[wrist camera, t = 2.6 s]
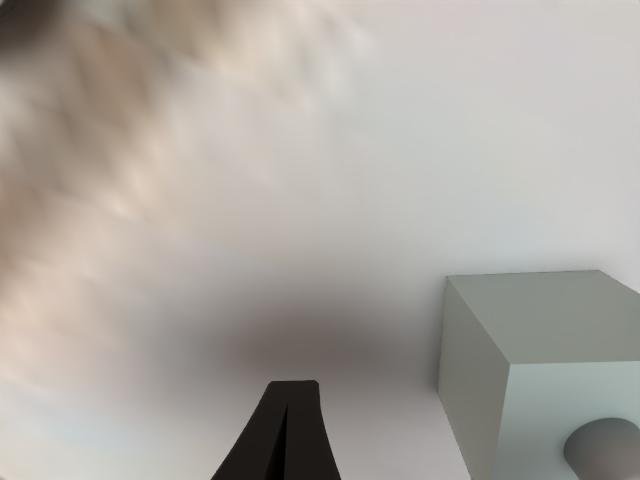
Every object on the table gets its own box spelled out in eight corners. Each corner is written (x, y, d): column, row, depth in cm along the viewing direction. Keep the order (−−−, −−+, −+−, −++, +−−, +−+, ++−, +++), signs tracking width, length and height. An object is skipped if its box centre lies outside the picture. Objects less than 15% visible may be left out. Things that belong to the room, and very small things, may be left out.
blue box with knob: (567, 386, 13) (729, 571, 8) (436, 389, 14) (506, 571, 8) (596, 268, 12) (826, 402, 6) (445, 274, 12) (542, 408, 6)
